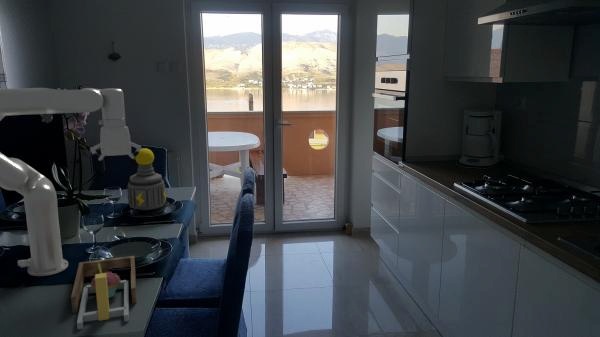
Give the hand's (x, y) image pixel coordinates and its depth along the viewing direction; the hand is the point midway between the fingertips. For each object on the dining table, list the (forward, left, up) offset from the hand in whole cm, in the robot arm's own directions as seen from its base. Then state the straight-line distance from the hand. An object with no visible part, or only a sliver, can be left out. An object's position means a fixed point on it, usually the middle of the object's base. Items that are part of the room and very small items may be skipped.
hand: (117, 169), depth 167 cm
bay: (-5, -27, -33) cm, 43 cm away
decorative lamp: (+11, +63, -34) cm, 72 cm away
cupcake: (-5, -32, -34) cm, 46 cm away
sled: (-5, -39, -33) cm, 51 cm away
